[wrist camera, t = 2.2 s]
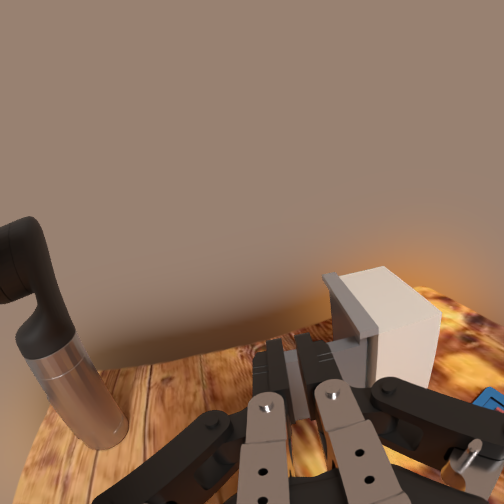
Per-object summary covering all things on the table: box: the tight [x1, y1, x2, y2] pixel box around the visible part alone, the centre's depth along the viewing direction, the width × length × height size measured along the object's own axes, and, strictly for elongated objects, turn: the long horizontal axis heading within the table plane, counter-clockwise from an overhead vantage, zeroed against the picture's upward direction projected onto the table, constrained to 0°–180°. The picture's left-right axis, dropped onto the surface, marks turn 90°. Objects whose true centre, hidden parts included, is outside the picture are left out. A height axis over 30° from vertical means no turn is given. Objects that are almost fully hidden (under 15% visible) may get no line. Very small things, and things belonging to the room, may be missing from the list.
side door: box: [284, 291, 367, 421], centre depth 34 cm, size 11×13×12 cm
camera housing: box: [322, 266, 442, 388], centre depth 34 cm, size 10×18×15 cm, turn 0°
